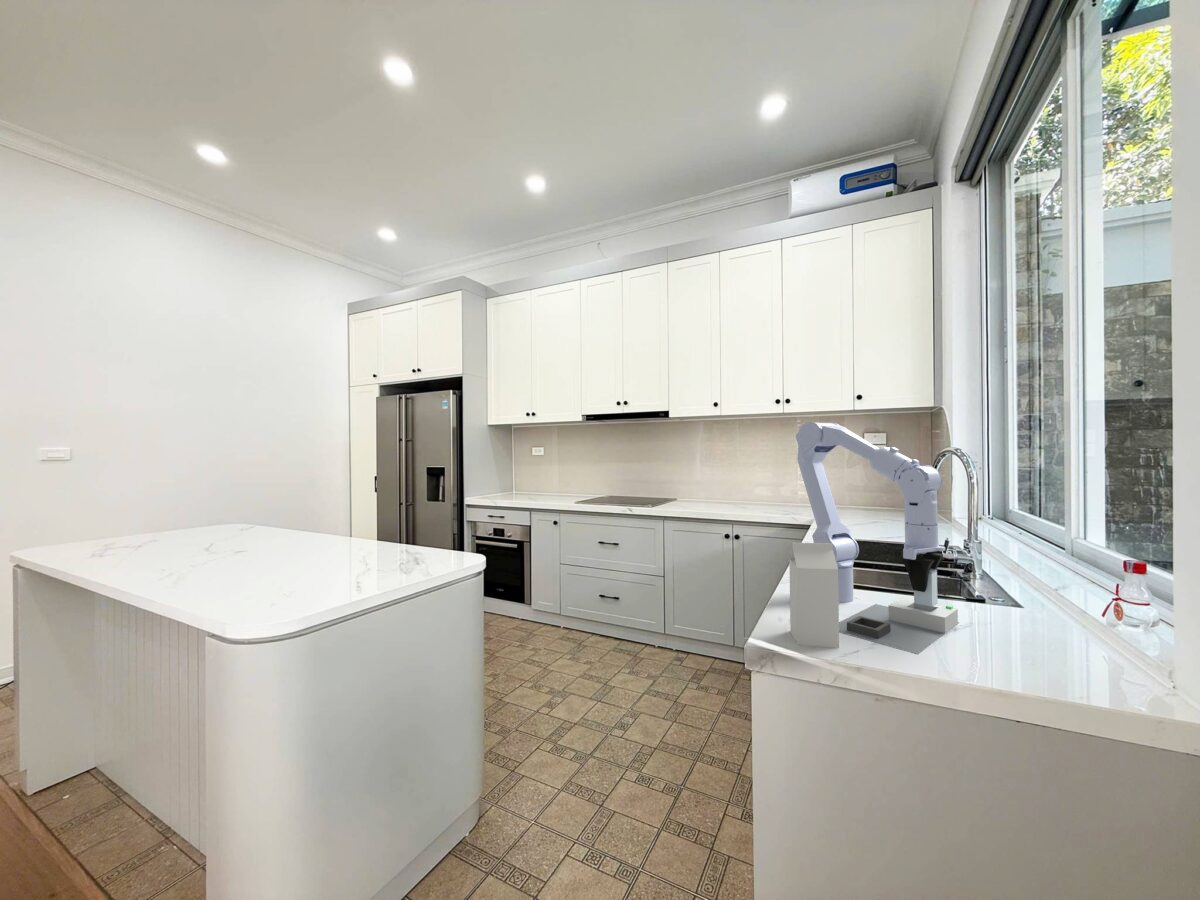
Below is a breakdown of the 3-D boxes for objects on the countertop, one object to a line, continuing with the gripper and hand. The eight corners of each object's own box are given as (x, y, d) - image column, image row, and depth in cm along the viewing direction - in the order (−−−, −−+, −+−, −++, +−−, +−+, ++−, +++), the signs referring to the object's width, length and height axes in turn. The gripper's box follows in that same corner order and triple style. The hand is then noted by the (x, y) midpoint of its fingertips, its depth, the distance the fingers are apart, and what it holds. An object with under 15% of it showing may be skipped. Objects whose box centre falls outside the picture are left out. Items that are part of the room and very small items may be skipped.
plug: (914, 603, 98) (913, 569, 98) (919, 599, 100) (918, 566, 100) (932, 606, 95) (931, 572, 96) (937, 603, 98) (936, 569, 98)
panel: (826, 632, 95) (825, 611, 95) (875, 607, 110) (875, 588, 110) (917, 658, 82) (917, 634, 82) (959, 626, 97) (959, 605, 97)
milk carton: (839, 652, 86) (837, 547, 86) (797, 649, 87) (796, 546, 87) (828, 637, 92) (827, 540, 93) (790, 634, 94) (788, 539, 94)
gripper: (931, 529, 91) (933, 600, 91) (954, 522, 100) (956, 586, 100) (891, 525, 96) (892, 592, 96) (916, 519, 105) (918, 580, 105)
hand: (922, 589), depth 98 cm, fingers closed on plug, 3 cm apart
